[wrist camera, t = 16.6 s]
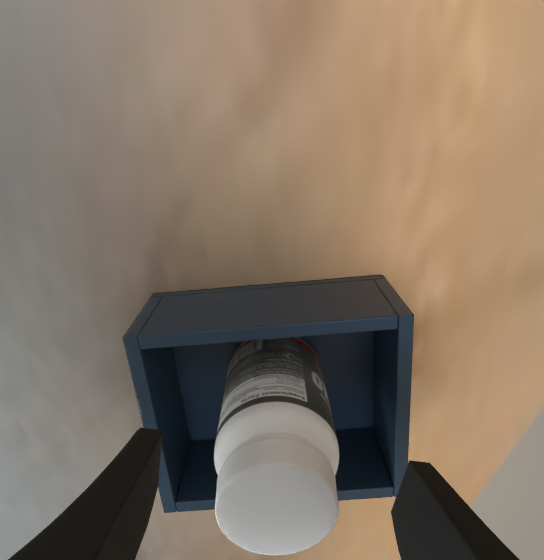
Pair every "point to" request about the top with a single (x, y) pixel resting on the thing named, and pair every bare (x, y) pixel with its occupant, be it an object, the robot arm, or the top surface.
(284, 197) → the top surface
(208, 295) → the bin
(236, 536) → the pill bottle
